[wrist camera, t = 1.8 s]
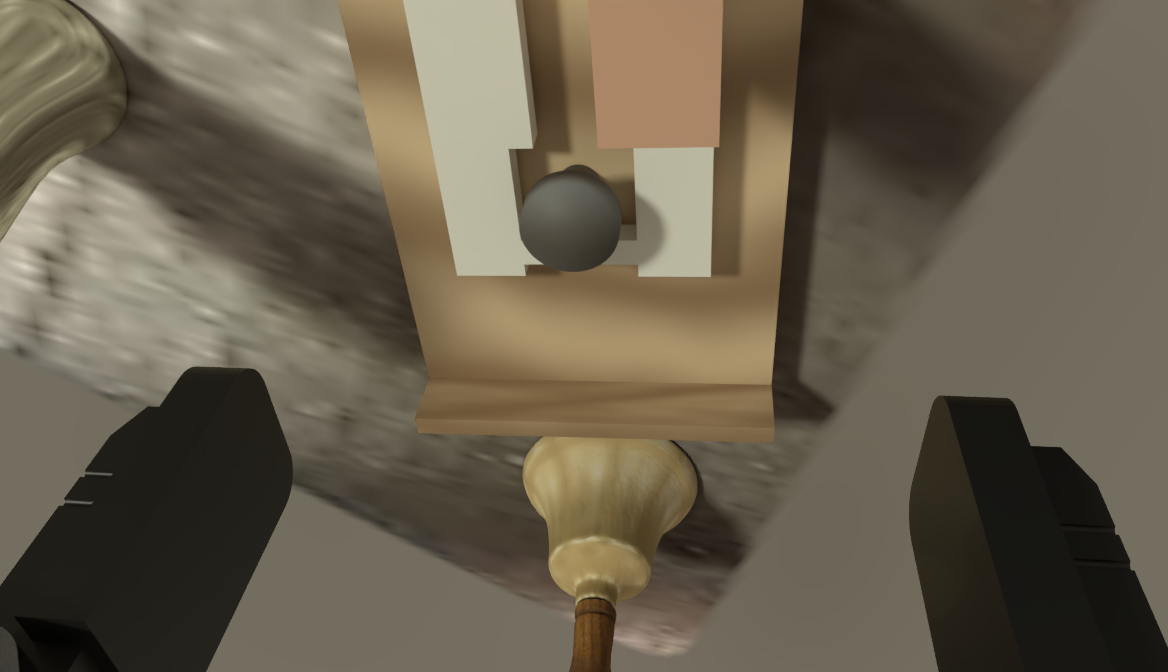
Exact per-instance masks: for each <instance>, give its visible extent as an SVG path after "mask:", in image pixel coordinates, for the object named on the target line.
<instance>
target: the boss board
mask: <svg viewBox="0 0 1168 672" xmlns="http://www.w3.org/2000/svg"><path fill="white" fill-rule="evenodd" d="M522 1H523V10H524V19H525V28H526V36H527V45H528V54H529V63H530V72H531V81H532V89H533V98H534V107H535V116H536V125H537V133H538V134H537V137H536V140H535V144H534V147H533V149H516V157H517V164H518V172H519V180H520V187H521V195H522V202H523V209H522V212H521V216H520V220H519V232H520V236H521V239H522V242H523V244H524V246H525V247H526V249H527V250H528V251H529V253H530V254H531V255H532V256H533V257H534V258H536V259H537V260H538V261H539V262H541V263H542V264H529V266H528V270H527V273H526V276H457V272H456V267H455V262H454V257H453V252H452V247H451V242H450V237H449V232H448V227H447V221H446V216H445V211H444V206H443V201H442V196H441V191H440V186H439V181H438V176H437V171H436V166H435V160H434V155H433V150H432V145H431V140H430V135H429V130H428V125H427V120H426V115H425V110H424V105H423V100H422V94H421V89H420V84H419V79H418V74H417V69H416V64H415V59H414V54H413V49H412V44H411V39H410V33H409V28H408V23H407V18H406V13H405V8H404V3H403V0H338V4H339V8H340V12H341V16H342V21H343V25H344V29H345V33H346V37H347V41H348V45H349V49H350V54H351V58H352V62H353V66H354V70H355V74H356V78H357V82H358V87H359V91H360V95H361V99H362V103H363V107H364V111H365V115H366V120H367V124H368V128H369V132H370V136H371V140H372V144H373V148H374V153H375V157H376V161H377V165H378V169H379V173H380V177H381V181H382V186H383V190H384V194H385V198H386V202H387V206H388V210H389V214H390V218H391V223H392V227H393V231H394V235H395V239H396V243H397V247H398V251H399V256H400V260H401V264H402V268H403V272H404V276H405V280H406V284H407V289H408V293H409V297H410V301H411V305H412V309H413V313H414V317H415V322H416V326H417V330H418V334H419V338H420V342H421V346H422V350H423V355H424V359H425V363H426V367H427V371H428V375H429V380H428V383H427V386H426V388H425V391H424V394H423V397H422V400H421V403H420V405H419V408H418V411H417V414H416V417H415V421H416V425H417V429H418V433H439V434H474V435H510V436H545V437H581V438H616V439H652V440H687V441H723V442H758V443H774V431H775V424H774V411H773V398H772V385H771V384H772V372H773V360H774V348H775V336H776V324H777V312H778V300H779V288H780V276H781V264H782V252H783V240H784V228H785V216H786V204H787V192H788V180H789V168H790V156H791V144H792V132H793V120H794V108H795V96H796V84H797V72H798V60H799V48H800V36H801V24H802V12H803V0H723V24H722V61H721V98H720V135H719V147H714V158H713V202H712V245H711V277H638V265H601V264H602V263H604V262H605V261H606V260H607V259H608V258H609V257H610V256H611V255H612V254H613V252H614V251H615V249H616V247H617V244H618V241H619V235H620V227H621V225H636V202H635V177H634V151H633V148H614V149H598V143H597V128H596V113H595V98H594V83H593V69H592V54H591V39H590V24H589V9H588V0H522Z"/></svg>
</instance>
